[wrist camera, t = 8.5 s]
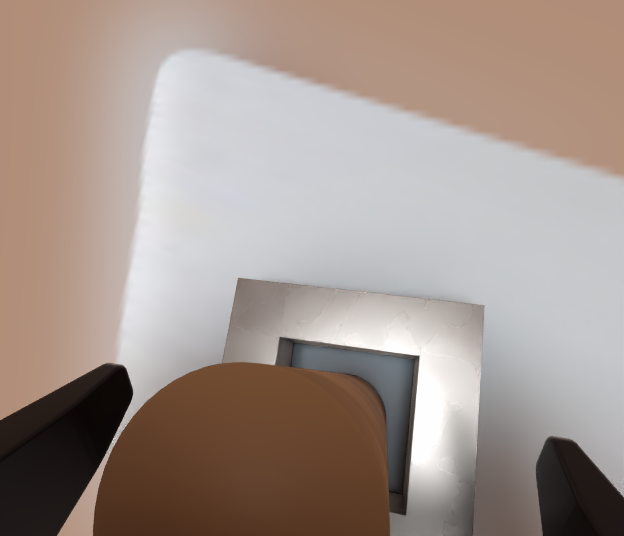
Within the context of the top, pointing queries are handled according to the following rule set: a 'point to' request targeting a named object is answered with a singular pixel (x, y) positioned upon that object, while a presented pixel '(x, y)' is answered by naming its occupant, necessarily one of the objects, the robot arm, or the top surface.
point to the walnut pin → (250, 457)
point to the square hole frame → (393, 342)
